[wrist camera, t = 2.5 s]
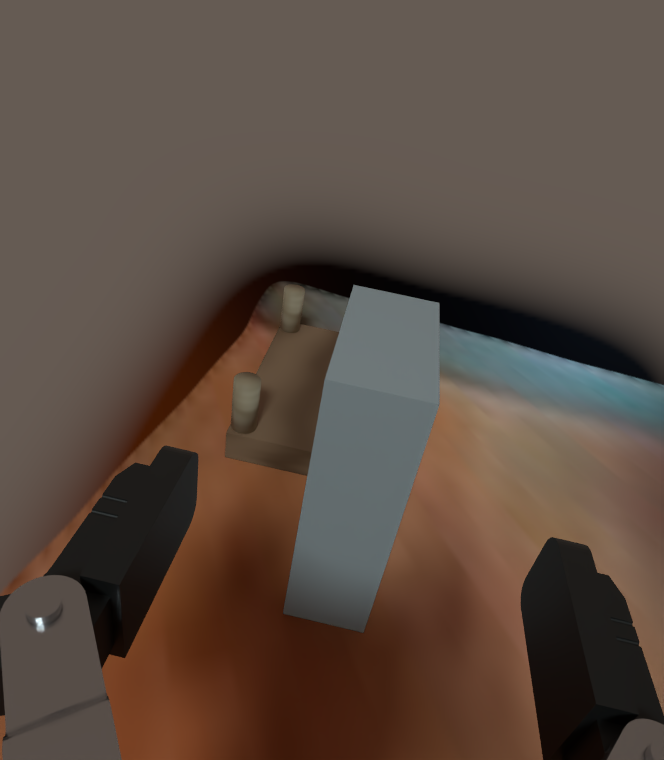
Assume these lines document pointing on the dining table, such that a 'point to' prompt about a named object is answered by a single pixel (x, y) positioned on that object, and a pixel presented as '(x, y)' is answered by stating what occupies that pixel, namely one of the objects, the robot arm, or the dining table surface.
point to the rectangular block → (364, 454)
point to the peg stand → (282, 394)
